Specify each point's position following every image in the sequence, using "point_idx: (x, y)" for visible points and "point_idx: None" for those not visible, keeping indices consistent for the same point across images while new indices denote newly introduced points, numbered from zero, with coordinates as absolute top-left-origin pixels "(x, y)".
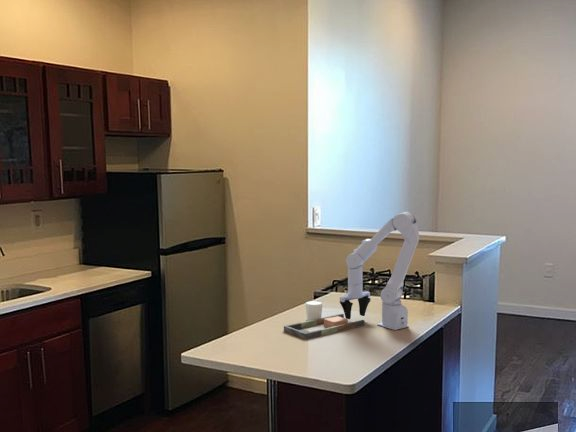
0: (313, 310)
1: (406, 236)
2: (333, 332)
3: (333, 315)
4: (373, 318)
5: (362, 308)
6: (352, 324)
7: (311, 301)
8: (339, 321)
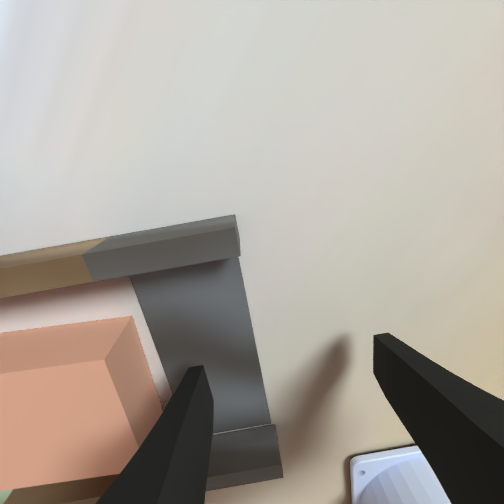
0: None
1: None
2: None
3: (95, 254)
4: (460, 330)
5: (425, 426)
6: None
7: None
8: (54, 478)
